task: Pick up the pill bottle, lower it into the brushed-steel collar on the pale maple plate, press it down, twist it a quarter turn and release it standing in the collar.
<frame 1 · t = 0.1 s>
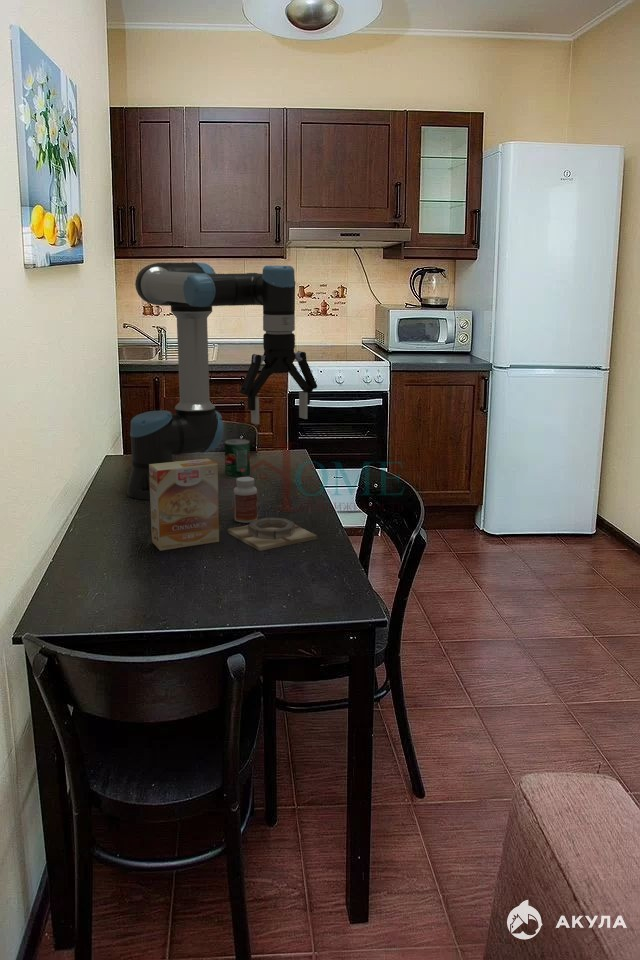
hand: (279, 420, 206), 28 cm above the table, fingers open, 13 cm apart
coffeecake box: (185, 543, 203), on the table
socket: (271, 535, 208), on the table
canned tomato: (237, 476, 265), on the table
pill bottle: (245, 520, 221), on the table
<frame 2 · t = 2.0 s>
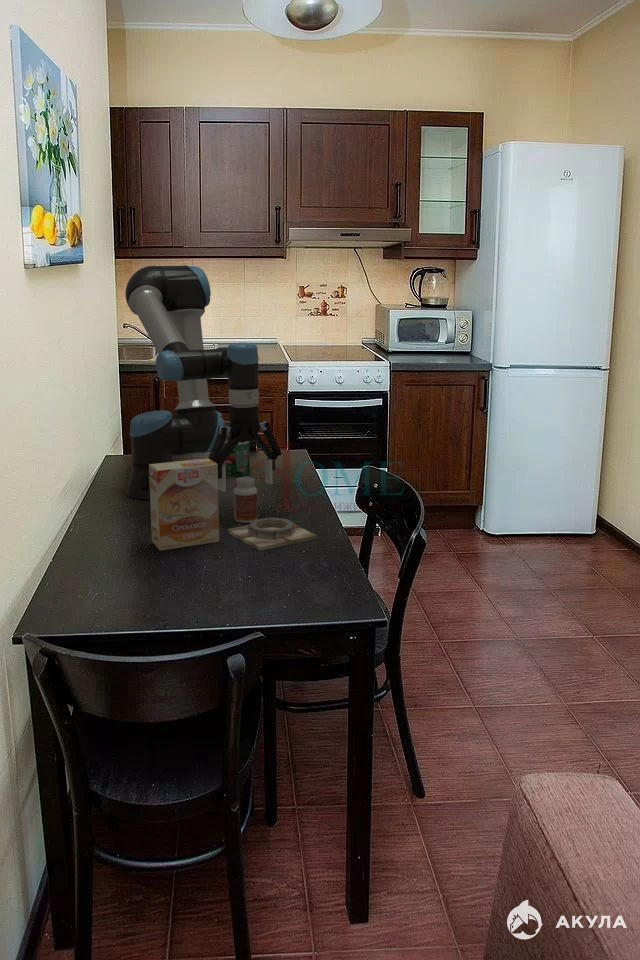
hand: (245, 486, 218), 9 cm above the table, fingers open, 13 cm apart
nothing on the table moved.
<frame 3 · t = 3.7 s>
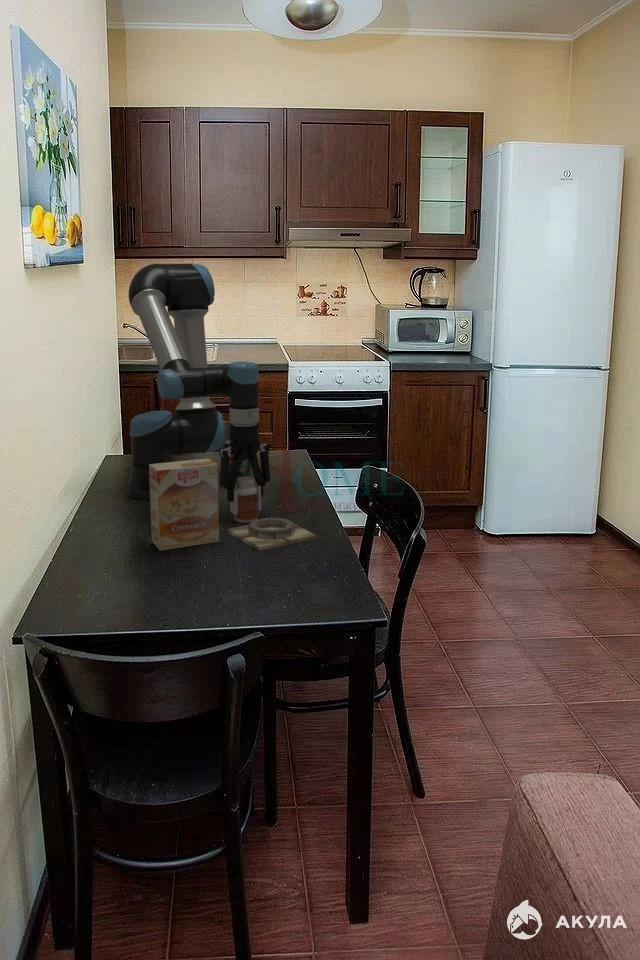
hand: (245, 510, 220), 2 cm above the table, fingers closed on pill bottle, 6 cm apart
pill bottle: (245, 520, 221), on the table, touching gripper
everything else where it was.
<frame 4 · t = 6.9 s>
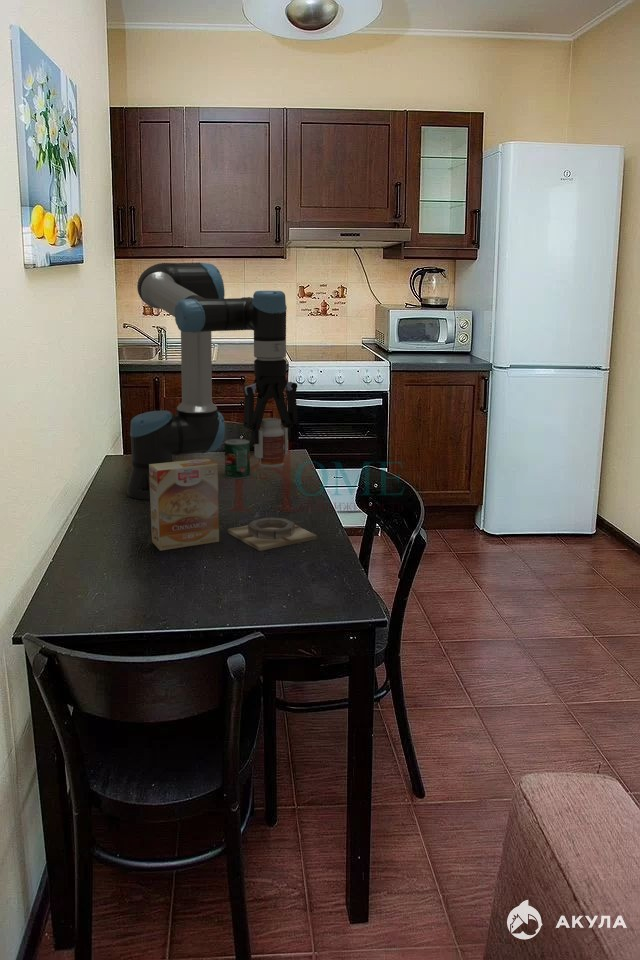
hand: (271, 455, 203), 20 cm above the table, fingers closed on pill bottle, 6 cm apart
pill bottle: (271, 465, 203), point 18 cm above the table, touching gripper
everything else where it was.
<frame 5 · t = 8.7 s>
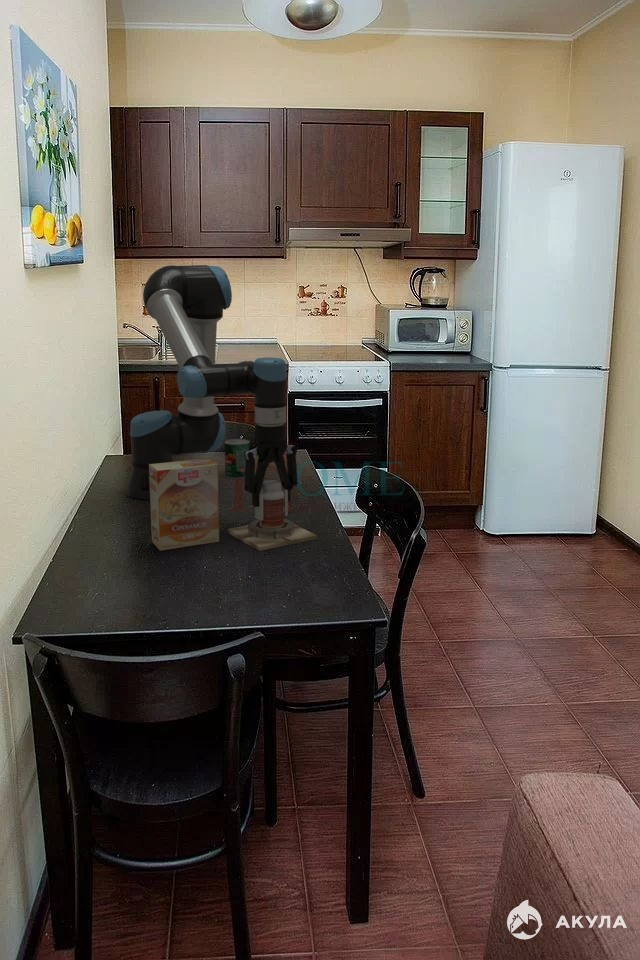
hand: (271, 516, 207), 5 cm above the table, fingers closed on pill bottle, 6 cm apart
pill bottle: (271, 526, 207), point 2 cm above the table, touching gripper
everything else where it was.
when the fingers open (4 cm above the table, at t = 10.4 s): pill bottle stays where it is, resting on socket.
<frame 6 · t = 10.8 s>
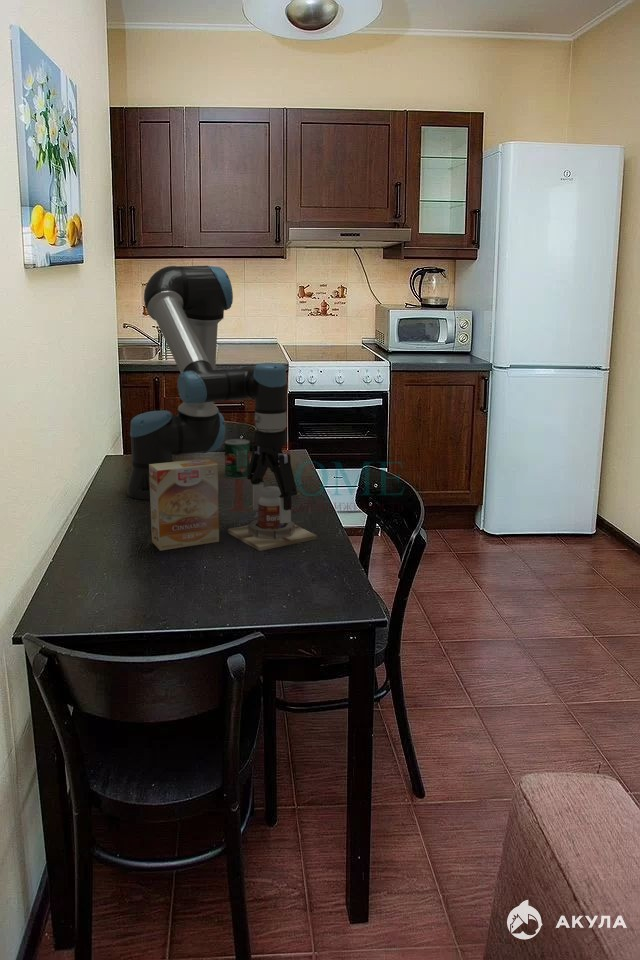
hand: (271, 515, 207), 5 cm above the table, fingers open, 12 cm apart
pill bottle: (271, 532, 208), point 1 cm above the table, touching socket
everything else where it was.
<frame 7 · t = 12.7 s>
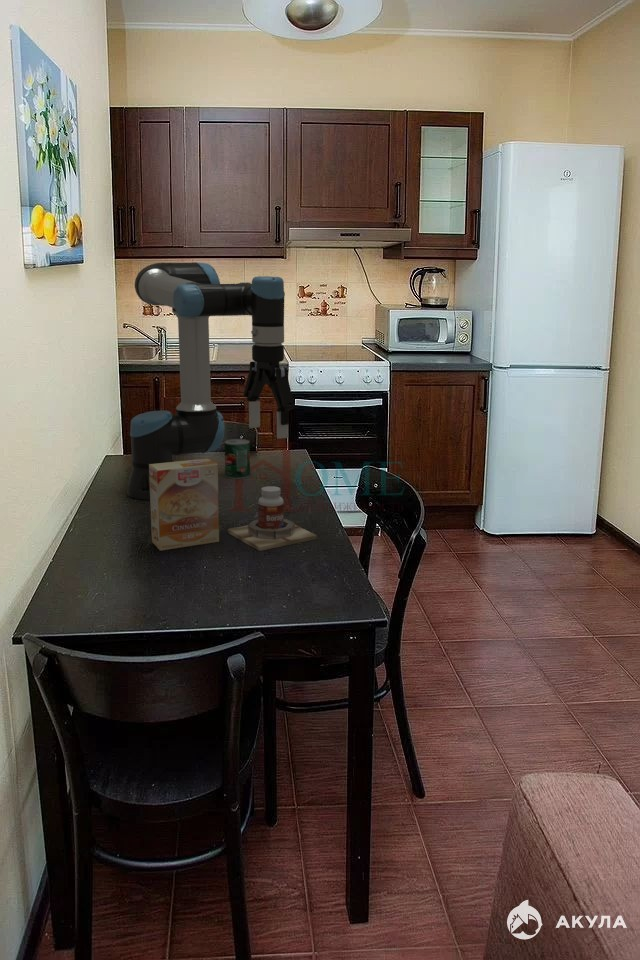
hand: (268, 432, 205), 25 cm above the table, fingers open, 13 cm apart
nothing on the table moved.
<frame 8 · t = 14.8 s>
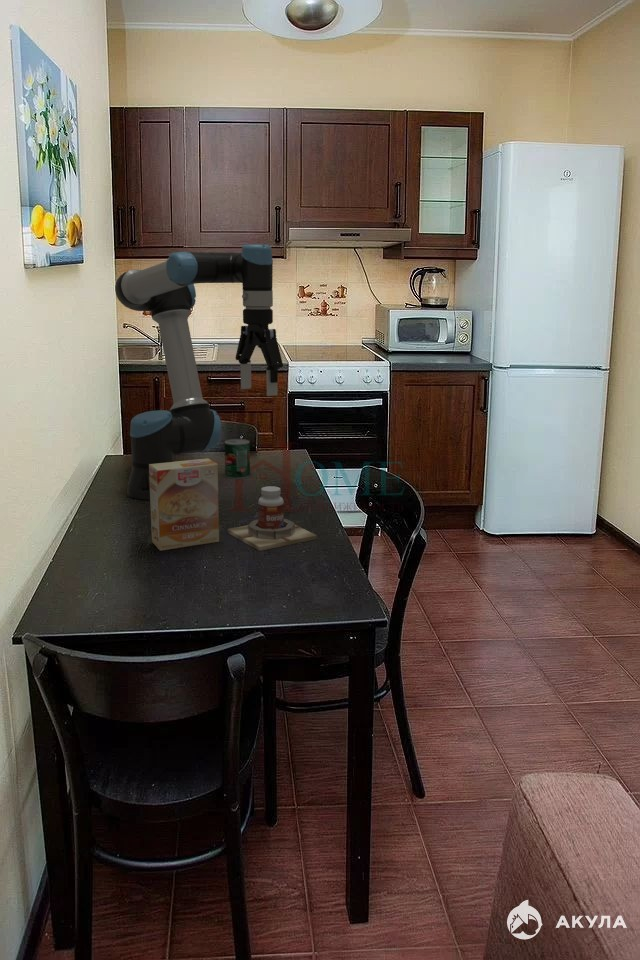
hand: (258, 392, 218), 33 cm above the table, fingers open, 13 cm apart
nothing on the table moved.
at the end: pill bottle 0.1 cm off-centre on the socket, point 0.8 cm above the socket's base; pill bottle tilted 0°; the gripper is holding nothing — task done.
